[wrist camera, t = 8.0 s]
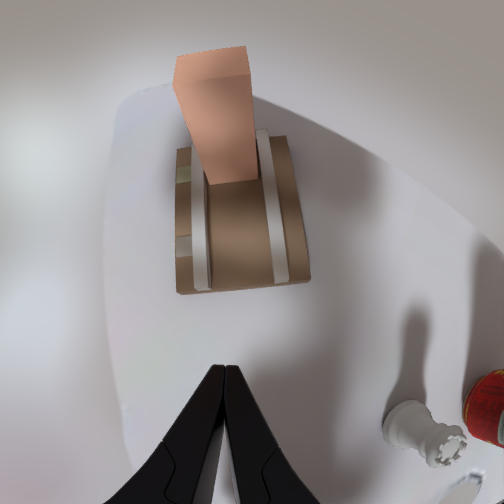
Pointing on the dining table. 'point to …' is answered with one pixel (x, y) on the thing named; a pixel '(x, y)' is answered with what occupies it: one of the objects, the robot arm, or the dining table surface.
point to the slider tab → (219, 111)
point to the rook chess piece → (423, 434)
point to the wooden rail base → (239, 225)
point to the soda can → (486, 408)
